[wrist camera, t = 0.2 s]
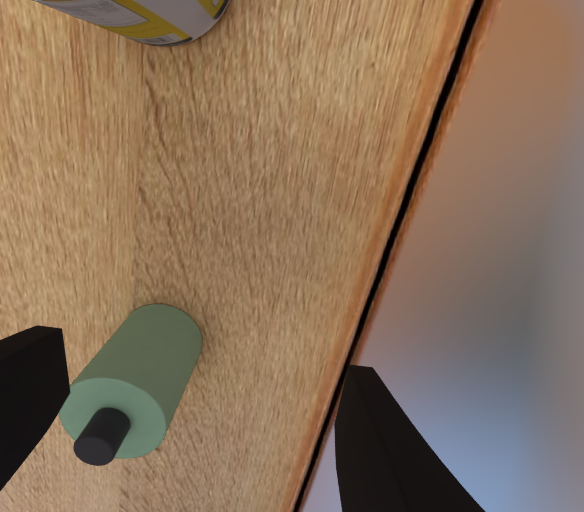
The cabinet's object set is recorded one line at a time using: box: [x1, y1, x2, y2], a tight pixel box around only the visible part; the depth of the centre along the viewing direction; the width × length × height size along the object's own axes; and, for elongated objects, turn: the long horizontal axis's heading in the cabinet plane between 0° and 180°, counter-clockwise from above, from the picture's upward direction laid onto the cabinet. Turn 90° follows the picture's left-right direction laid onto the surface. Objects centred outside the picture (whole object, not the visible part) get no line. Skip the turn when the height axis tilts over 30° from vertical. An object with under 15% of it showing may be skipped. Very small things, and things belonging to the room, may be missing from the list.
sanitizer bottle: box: [59, 304, 202, 466], centre depth 17 cm, size 5×5×8 cm
